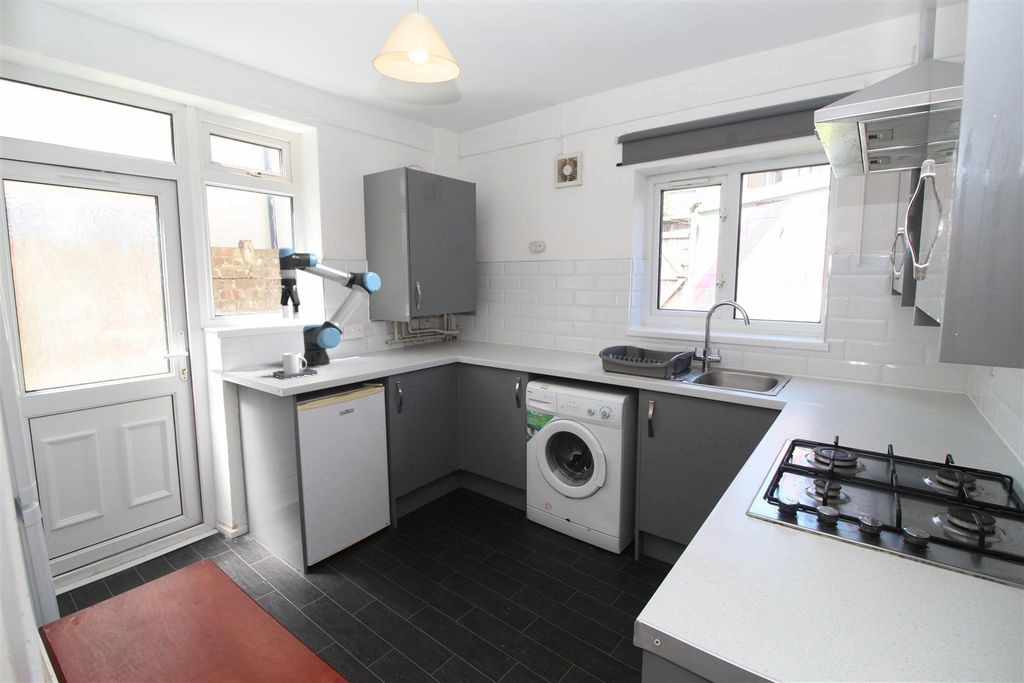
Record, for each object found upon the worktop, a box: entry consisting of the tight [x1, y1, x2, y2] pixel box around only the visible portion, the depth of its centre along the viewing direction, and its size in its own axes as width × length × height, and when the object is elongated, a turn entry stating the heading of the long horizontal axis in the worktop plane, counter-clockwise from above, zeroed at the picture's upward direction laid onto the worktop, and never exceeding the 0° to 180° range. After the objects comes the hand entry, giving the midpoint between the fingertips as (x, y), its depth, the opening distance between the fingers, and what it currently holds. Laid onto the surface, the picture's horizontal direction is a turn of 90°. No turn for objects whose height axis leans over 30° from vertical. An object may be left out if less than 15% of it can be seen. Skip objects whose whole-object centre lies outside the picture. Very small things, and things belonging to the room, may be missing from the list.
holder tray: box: [272, 367, 318, 380], centre depth 247 cm, size 17×15×2 cm
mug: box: [282, 351, 308, 375], centre depth 247 cm, size 9×12×11 cm
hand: (291, 318), depth 257 cm, fingers open, 13 cm apart
